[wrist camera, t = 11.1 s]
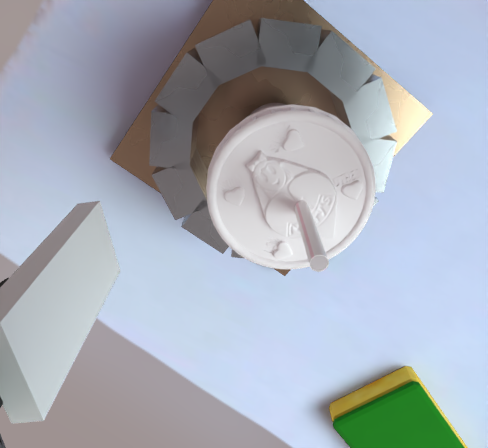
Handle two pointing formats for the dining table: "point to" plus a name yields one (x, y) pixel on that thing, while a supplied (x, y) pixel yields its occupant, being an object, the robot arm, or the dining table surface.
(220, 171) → the smoothie
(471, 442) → the dining table surface
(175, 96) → the stone fire pit ring
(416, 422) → the dish sponge
